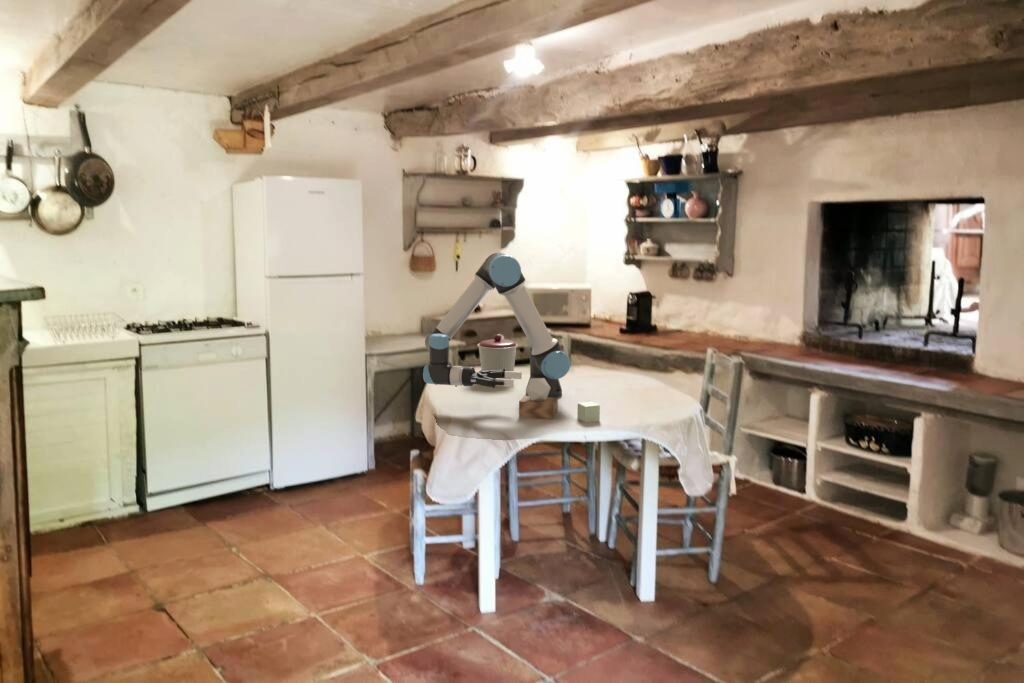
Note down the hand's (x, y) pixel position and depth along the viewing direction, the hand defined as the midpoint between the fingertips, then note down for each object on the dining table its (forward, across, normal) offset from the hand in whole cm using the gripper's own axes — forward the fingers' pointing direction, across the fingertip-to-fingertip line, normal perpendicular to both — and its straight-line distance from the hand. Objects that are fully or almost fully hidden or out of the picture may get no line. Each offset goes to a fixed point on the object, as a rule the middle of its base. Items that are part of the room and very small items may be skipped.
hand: (517, 379), depth 299 cm
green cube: (+27, +2, -13) cm, 31 cm away
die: (+8, 0, -8) cm, 11 cm away
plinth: (+8, 0, -13) cm, 16 cm away
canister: (-21, -53, -14) cm, 59 cm away
